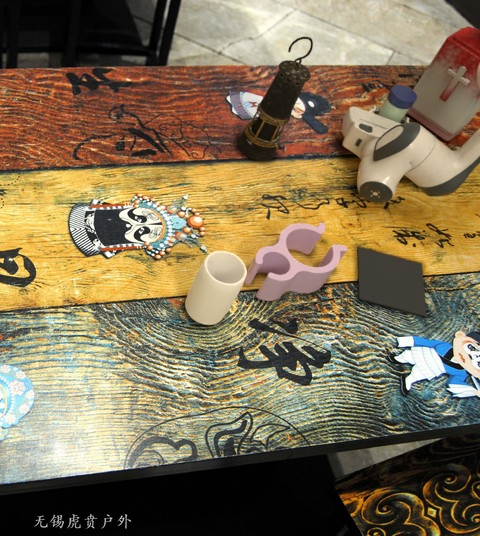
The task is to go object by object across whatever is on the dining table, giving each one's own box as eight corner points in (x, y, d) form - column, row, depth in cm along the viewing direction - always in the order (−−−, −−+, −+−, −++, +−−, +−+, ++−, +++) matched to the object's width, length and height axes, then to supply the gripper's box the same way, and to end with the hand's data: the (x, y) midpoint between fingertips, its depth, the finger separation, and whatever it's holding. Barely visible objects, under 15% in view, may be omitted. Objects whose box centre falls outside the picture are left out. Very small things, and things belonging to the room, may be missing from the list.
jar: (389, 128, 182) (414, 90, 172) (390, 143, 178) (416, 105, 169) (367, 122, 182) (390, 83, 172) (367, 137, 178) (392, 99, 169)
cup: (180, 324, 139) (201, 281, 127) (182, 289, 144) (203, 244, 133) (224, 333, 139) (249, 291, 128) (225, 297, 144) (248, 253, 133)
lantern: (277, 163, 169) (332, 57, 146) (239, 158, 168) (288, 51, 145) (272, 135, 175) (324, 29, 151) (235, 131, 174) (281, 23, 150)
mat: (420, 264, 157) (421, 263, 157) (425, 317, 149) (426, 316, 148) (357, 247, 157) (358, 246, 157) (358, 299, 149) (359, 298, 149)
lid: (411, 95, 174) (416, 88, 172) (413, 112, 170) (418, 104, 168) (386, 89, 174) (391, 81, 172) (387, 105, 170) (392, 97, 168)
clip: (270, 313, 143) (283, 293, 138) (231, 267, 149) (242, 246, 143) (341, 277, 152) (356, 257, 146) (302, 234, 157) (315, 213, 152)
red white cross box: (396, 111, 188) (462, 9, 164) (417, 97, 193) (484, -4, 169) (444, 145, 182) (519, 45, 158) (464, 130, 187) (540, 30, 163)
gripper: (435, 155, 164) (439, 119, 173) (347, 122, 166) (355, 88, 175) (420, 175, 169) (425, 138, 178) (335, 143, 171) (344, 108, 180)
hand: (390, 113), depth 176 cm, fingers closed on jar, 6 cm apart
